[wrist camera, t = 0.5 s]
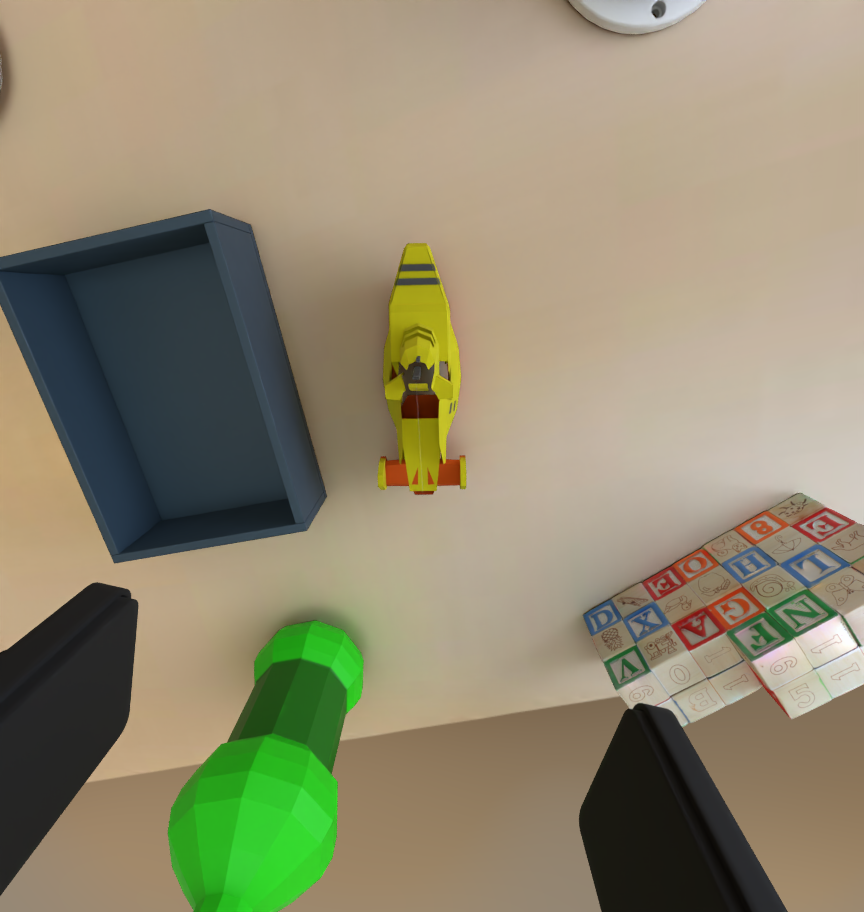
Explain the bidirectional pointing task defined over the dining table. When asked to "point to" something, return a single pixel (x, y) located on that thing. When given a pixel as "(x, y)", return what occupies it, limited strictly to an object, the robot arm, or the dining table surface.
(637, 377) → the dining table surface
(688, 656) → the stack of blocks
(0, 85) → the donut
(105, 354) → the tote
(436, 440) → the yellow toy submarine
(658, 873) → the robot arm
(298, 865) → the plastic bottle
